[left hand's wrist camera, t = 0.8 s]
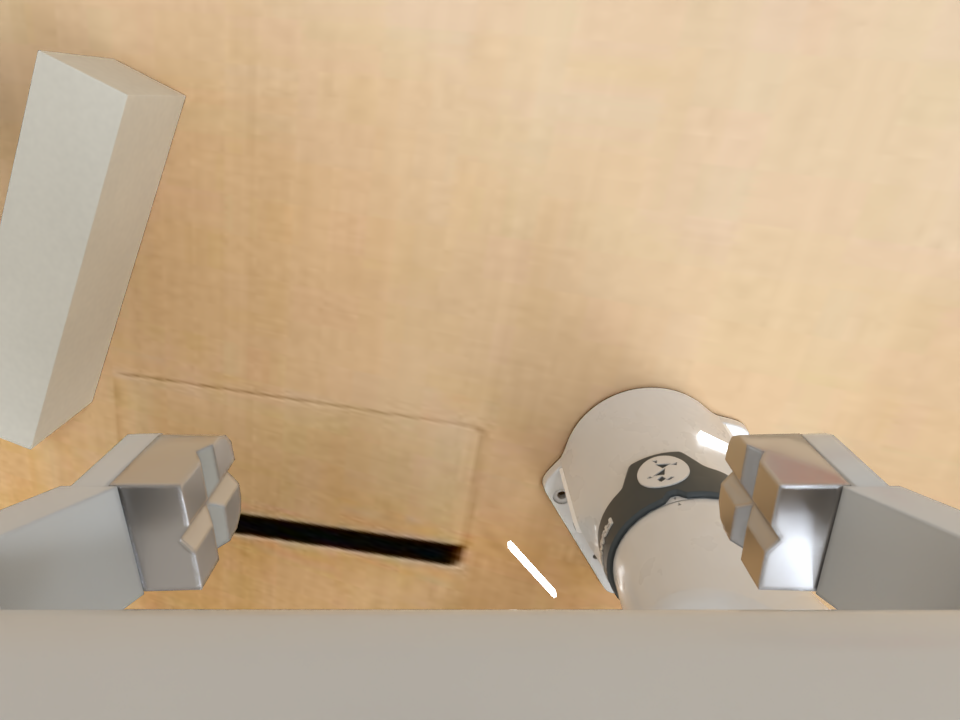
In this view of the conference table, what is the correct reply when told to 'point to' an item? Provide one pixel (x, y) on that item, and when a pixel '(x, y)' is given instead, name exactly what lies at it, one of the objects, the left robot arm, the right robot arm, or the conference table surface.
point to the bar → (74, 230)
